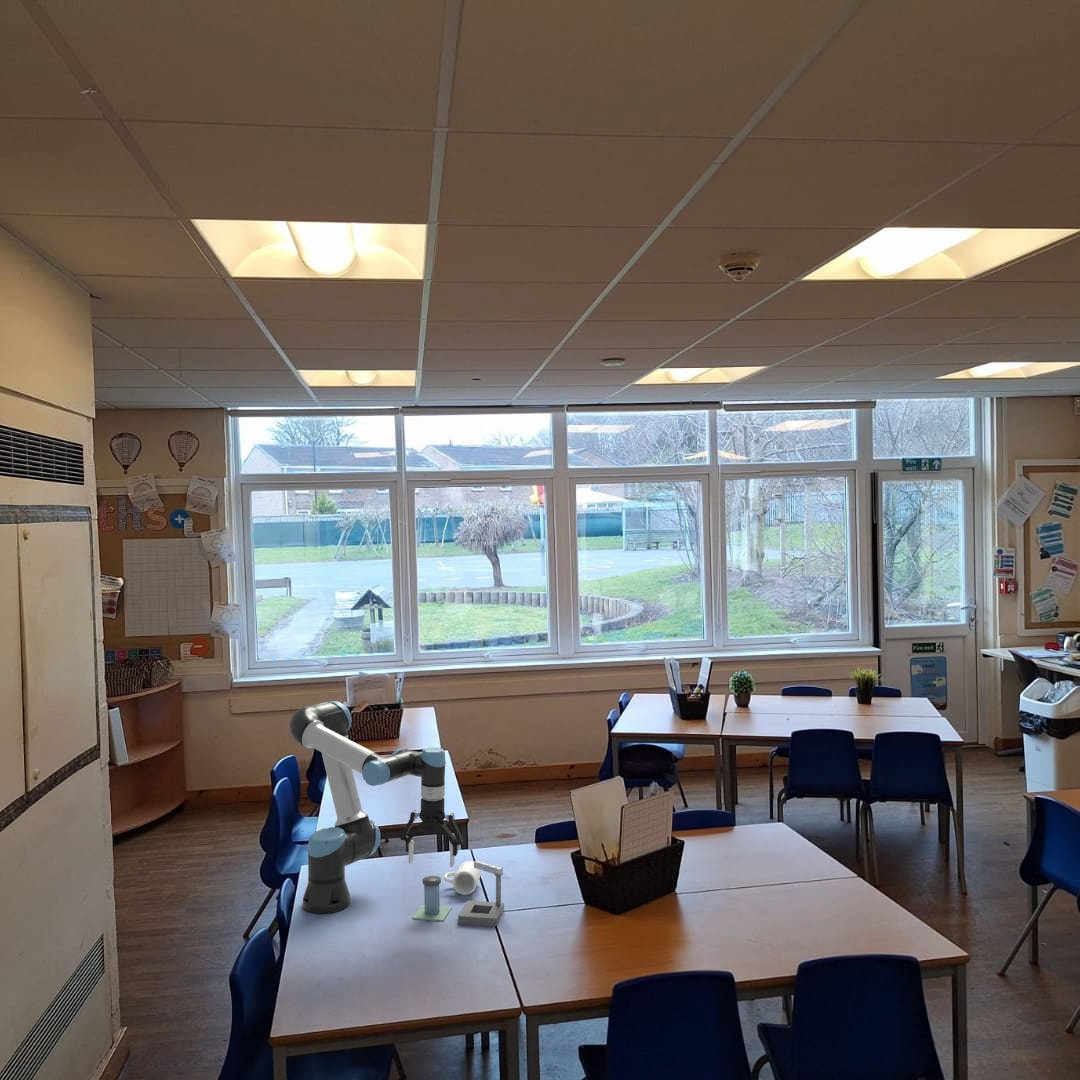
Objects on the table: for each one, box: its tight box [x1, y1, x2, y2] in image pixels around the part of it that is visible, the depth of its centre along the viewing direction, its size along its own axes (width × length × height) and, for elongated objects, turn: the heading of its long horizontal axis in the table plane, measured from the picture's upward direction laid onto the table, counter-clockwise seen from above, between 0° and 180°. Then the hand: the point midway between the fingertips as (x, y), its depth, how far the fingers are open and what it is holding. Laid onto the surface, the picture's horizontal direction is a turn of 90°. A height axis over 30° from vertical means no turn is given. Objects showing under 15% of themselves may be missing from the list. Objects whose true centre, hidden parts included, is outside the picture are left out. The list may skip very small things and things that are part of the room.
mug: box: [443, 860, 482, 896], centre depth 310 cm, size 12×10×8 cm
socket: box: [457, 875, 505, 928], centre depth 287 cm, size 12×12×12 cm
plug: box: [422, 875, 442, 915], centre depth 290 cm, size 6×6×10 cm
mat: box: [412, 904, 453, 922], centre depth 290 cm, size 10×10×1 cm
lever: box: [473, 860, 504, 877], centre depth 293 cm, size 11×3×2 cm, turn 52°
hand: (431, 863), depth 290 cm, fingers open, 13 cm apart
